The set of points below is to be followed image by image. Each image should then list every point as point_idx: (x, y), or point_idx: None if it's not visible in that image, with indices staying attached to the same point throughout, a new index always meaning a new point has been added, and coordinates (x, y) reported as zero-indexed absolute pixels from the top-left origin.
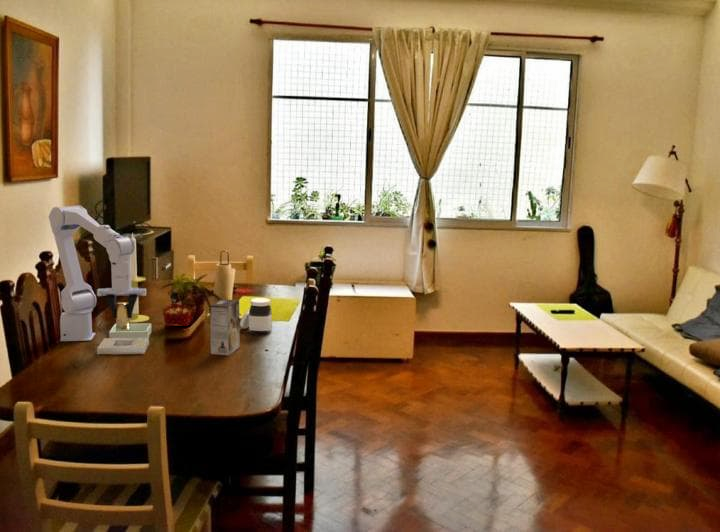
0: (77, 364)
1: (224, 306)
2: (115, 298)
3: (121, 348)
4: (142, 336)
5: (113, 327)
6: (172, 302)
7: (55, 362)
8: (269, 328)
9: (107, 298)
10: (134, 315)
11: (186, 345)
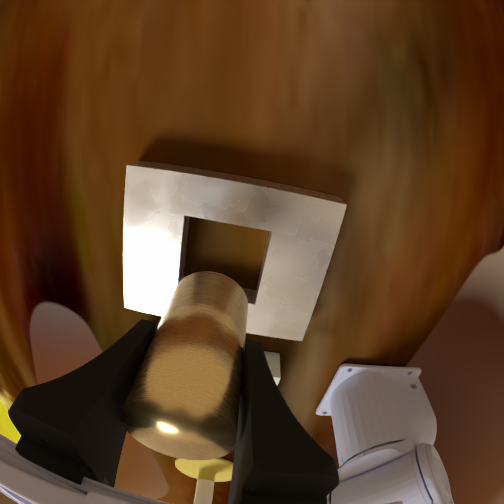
0: (416, 93)
1: None
2: (233, 490)
3: (230, 179)
4: None
5: None
6: None
7: (478, 154)
8: None
9: (321, 480)
10: (207, 475)
11: (20, 236)
